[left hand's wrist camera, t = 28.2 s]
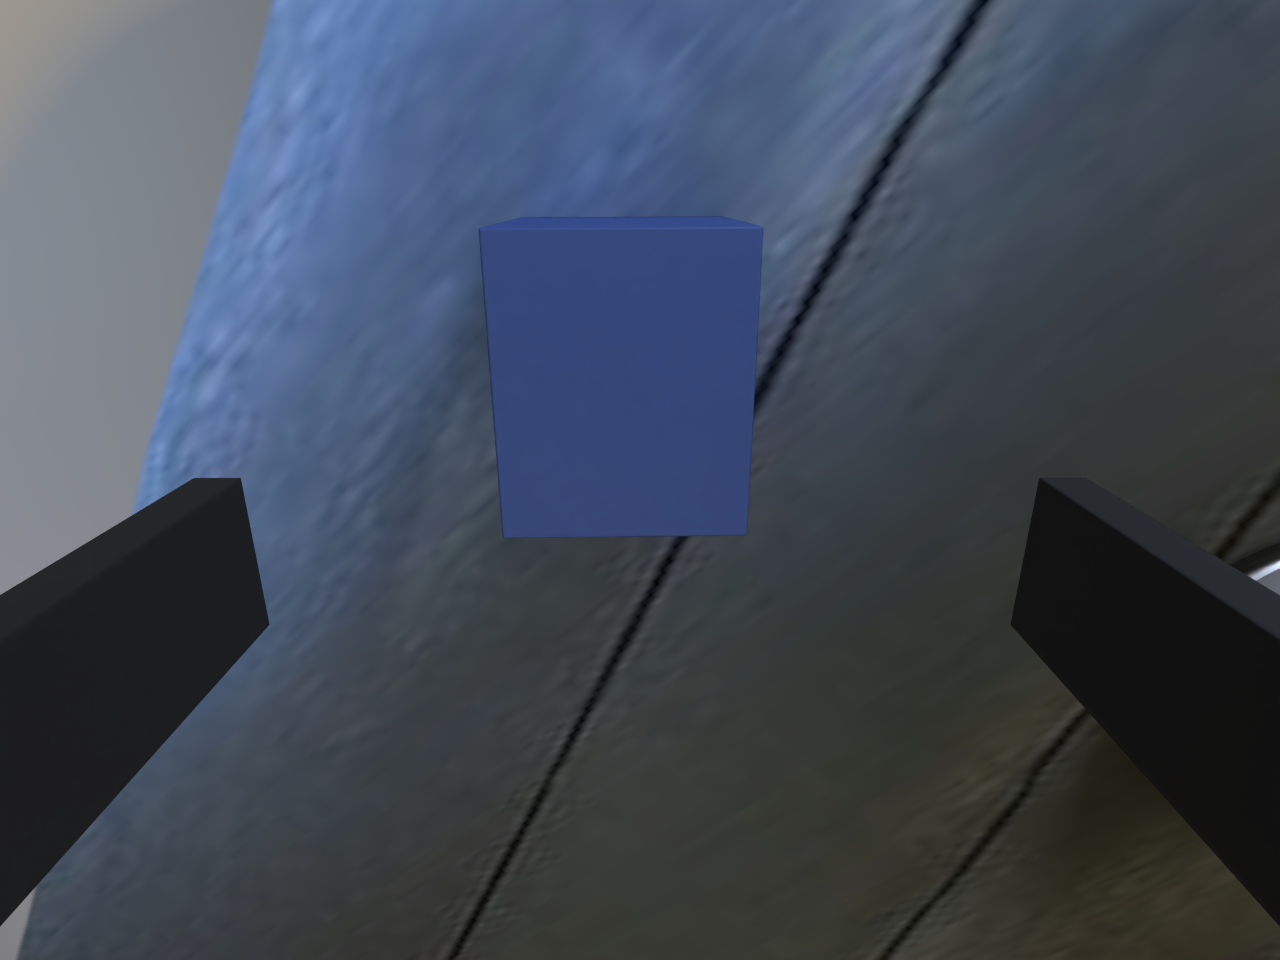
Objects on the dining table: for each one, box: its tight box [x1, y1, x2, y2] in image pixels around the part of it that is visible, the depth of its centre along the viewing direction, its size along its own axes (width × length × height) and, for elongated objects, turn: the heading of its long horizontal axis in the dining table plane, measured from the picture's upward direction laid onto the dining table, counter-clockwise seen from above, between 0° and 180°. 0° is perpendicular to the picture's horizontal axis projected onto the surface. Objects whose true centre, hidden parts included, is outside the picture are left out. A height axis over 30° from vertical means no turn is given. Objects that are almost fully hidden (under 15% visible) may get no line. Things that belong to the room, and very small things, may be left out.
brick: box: [479, 217, 763, 538], centre depth 24 cm, size 7×9×8 cm
